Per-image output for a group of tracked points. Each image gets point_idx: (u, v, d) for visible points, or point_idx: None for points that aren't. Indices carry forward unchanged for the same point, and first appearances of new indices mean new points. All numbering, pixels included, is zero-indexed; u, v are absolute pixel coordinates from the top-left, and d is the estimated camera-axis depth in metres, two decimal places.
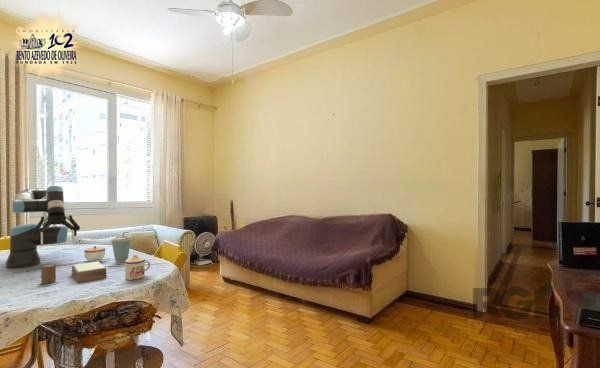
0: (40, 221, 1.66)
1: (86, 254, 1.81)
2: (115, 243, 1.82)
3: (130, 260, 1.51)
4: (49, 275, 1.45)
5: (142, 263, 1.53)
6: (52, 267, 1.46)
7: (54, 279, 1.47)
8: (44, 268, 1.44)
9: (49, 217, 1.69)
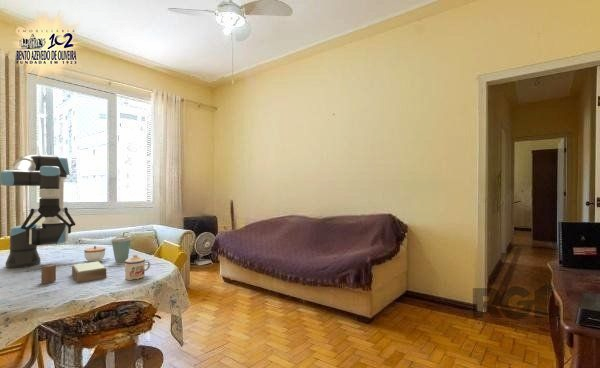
0: (29, 215, 1.41)
1: (86, 254, 1.81)
2: (115, 243, 1.82)
3: (130, 260, 1.51)
4: (49, 275, 1.45)
5: (142, 263, 1.53)
6: (52, 267, 1.46)
7: (54, 279, 1.47)
8: (44, 268, 1.44)
9: (40, 210, 1.44)
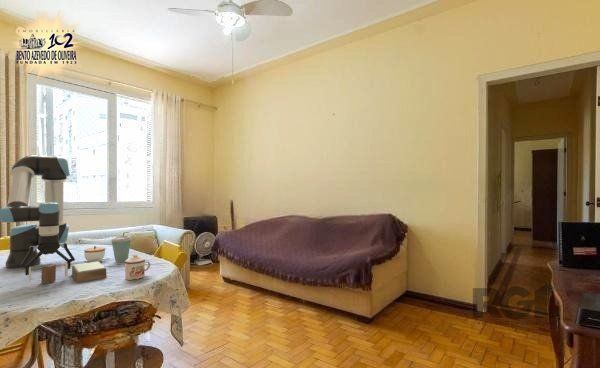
0: (29, 253, 1.41)
1: (86, 254, 1.81)
2: (115, 243, 1.82)
3: (130, 260, 1.51)
4: (49, 275, 1.45)
5: (142, 263, 1.53)
6: (52, 267, 1.46)
7: (54, 279, 1.47)
8: (44, 268, 1.44)
9: (40, 247, 1.43)
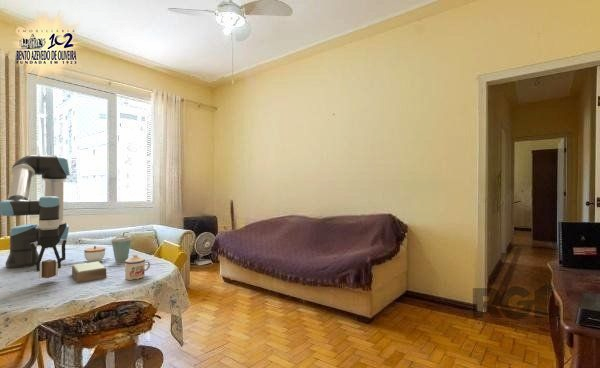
0: (32, 250, 1.42)
1: (86, 254, 1.81)
2: (115, 243, 1.82)
3: (130, 260, 1.51)
4: (49, 270, 1.45)
5: (142, 263, 1.53)
6: (52, 262, 1.47)
7: (54, 274, 1.48)
8: (44, 263, 1.45)
9: (40, 241, 1.43)
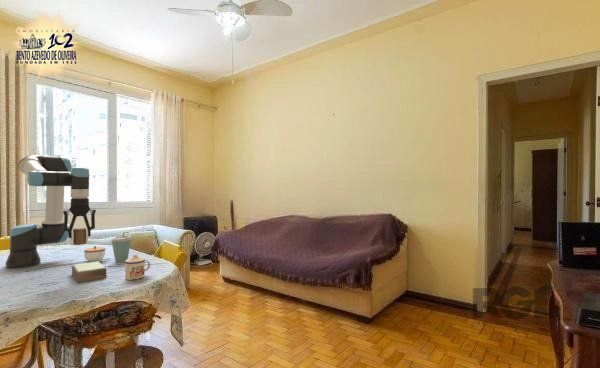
0: (65, 217, 1.49)
1: (86, 254, 1.81)
2: (115, 243, 1.82)
3: (130, 260, 1.51)
4: (80, 237, 1.53)
5: (142, 263, 1.53)
6: (83, 230, 1.54)
7: (84, 242, 1.55)
8: (75, 230, 1.52)
9: (72, 209, 1.51)
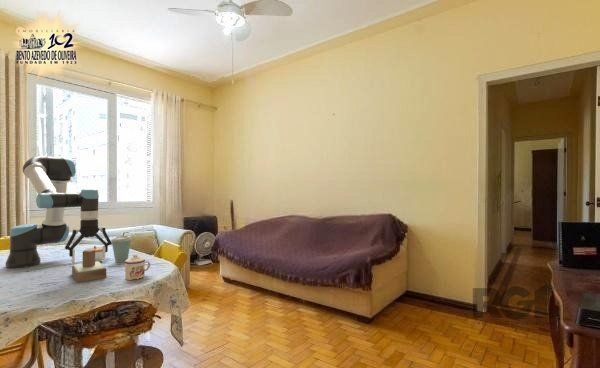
0: (72, 236, 1.51)
1: None
2: (115, 243, 1.82)
3: (130, 260, 1.51)
4: (90, 259, 1.56)
5: (142, 263, 1.53)
6: (92, 252, 1.57)
7: (94, 263, 1.58)
8: (85, 253, 1.55)
9: (82, 230, 1.54)
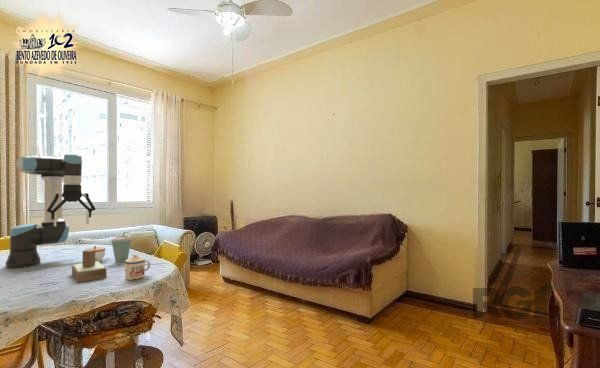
0: (55, 199, 1.52)
1: None
2: (115, 243, 1.82)
3: (130, 260, 1.51)
4: (90, 259, 1.56)
5: (142, 263, 1.53)
6: (92, 252, 1.57)
7: (94, 263, 1.58)
8: (85, 253, 1.55)
9: (64, 195, 1.55)
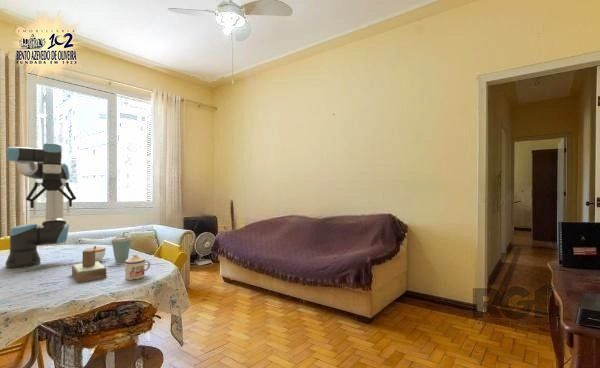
0: (34, 188, 1.53)
1: None
2: (115, 243, 1.82)
3: (130, 260, 1.51)
4: (90, 259, 1.56)
5: (142, 263, 1.53)
6: (92, 252, 1.57)
7: (94, 263, 1.58)
8: (85, 253, 1.55)
9: (44, 183, 1.56)
